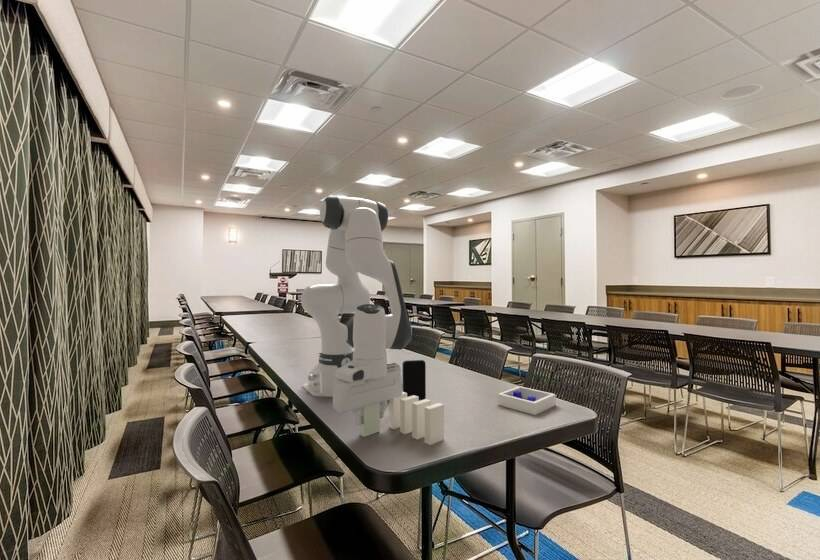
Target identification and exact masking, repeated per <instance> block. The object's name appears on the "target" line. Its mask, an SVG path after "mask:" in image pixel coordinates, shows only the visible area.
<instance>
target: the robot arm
mask: <svg viewBox="0 0 820 560" xmlns="http://www.w3.org/2000/svg"><path fill="white" fill-rule="evenodd" d="M319 216H320V220H321V221H320V222H321V223H322V225H323V226H324V227H325V228H327V229H329V231H330V232H329V235H328V239H327V240H328V241H327V248H326V257H325V267H326V269H327V270H328V271H329V272H330V273H331V274H332V275H334V276H336V277H337V283H318V284H313V285H309V286H306V287H305V288H304V289H303V291H302V294H301V295H300V304H301V307H302V308H303V310H304V312H306V313H307V314H308V315H309V316H311V317H312V318H313V320H315V322H316V324H317V326H318V329H319V332H320V343H321V345H320V346H321V349H320V351H321V352H319V353H318V356H317V357H318V363H317V364H316V365H315V366H314V367H313V368H312V369H311V370H310V371H309V374H308V376H307V378H308V382H306V383H303V384H302V388H303V389H304V390H305V391H306V392H308V393H309V394H311V395H312V396H313V397H332V407H333V409H334V410H335V411H337V412H339V413H340V414H341V413H342V414H344V413H347V412H350V411H351V413H352V414H353V416H354V419H355V420H354V422H355V424H356V425H357V426H360V425H362V424H364V417H362V416H360V412H361V408H362V407H366V406H369V405H373V404H376V403H380V419H384V417H385V410H386V409H387V406H388V401H389V400H391V399H393V398H397V397H400V396H401V395H402V393H403V387H402V369H401V366H400V365H399V364H398V363H397V362H393V363H388V353H387V351H386V349H389V350H403V349H404V348H406V347H407V346H408V345H409V344H410V342H411V341H412V340H413V339H412V337H413V328H412V325H411V322H410V318H409V315H408V313H407V308H406V303H405V300H404V295H403V291H402V285H401V281H400V277H399V273H398V270H397V267H396V264H395V263H394V261H393V260H391V259H389V258H388V256H387V255H386V253H385V251H384V245H383V233H382V232H383V231H385V229H386V227H387V225H388V222H389V221H388V220H389V210H388V207H387V206H386V205H385V204H384V203H382V202H380V201H377V200H370V199H365V198H361V197H349V196H348V197H347V196H338V195H330V196H326V197H325V198H324V199H323V200H322V204H321V205H320V208H319ZM359 274H361V275H362V276H367V277H369V278H371V279H374V280H376V281H378V282H380V283H381V284H382V285H383V286H384V288H385V290H386V294H387V300H388V303H389V309H390V313H388V314H386V311H385V308H384V307H383V306H381V305H380V304H375V303H374V304H373V303H371V304H370V302H371V294H370V291H369V288H368V287H367V286H366V285H364V283H362V280H361V279H360V276H359ZM340 314H342V315H344V314H354V315H353V316H352V317H350V319H349V320H348V321H347V322H346V323H345V324H344V323H342V322H340V319H339V315H340Z"/></svg>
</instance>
